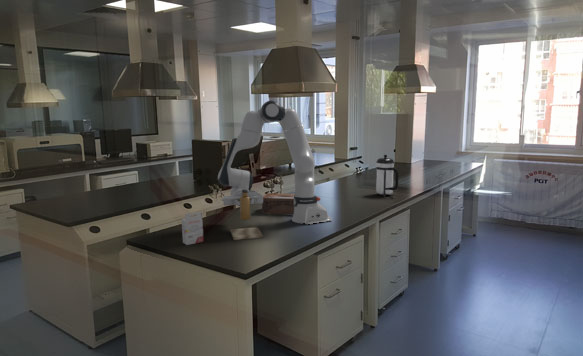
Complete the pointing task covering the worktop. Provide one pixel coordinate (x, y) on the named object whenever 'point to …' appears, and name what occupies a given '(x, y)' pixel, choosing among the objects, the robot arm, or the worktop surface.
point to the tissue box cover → (278, 203)
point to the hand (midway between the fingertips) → (245, 203)
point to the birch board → (246, 233)
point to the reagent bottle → (245, 205)
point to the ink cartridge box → (192, 228)
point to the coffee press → (385, 176)
